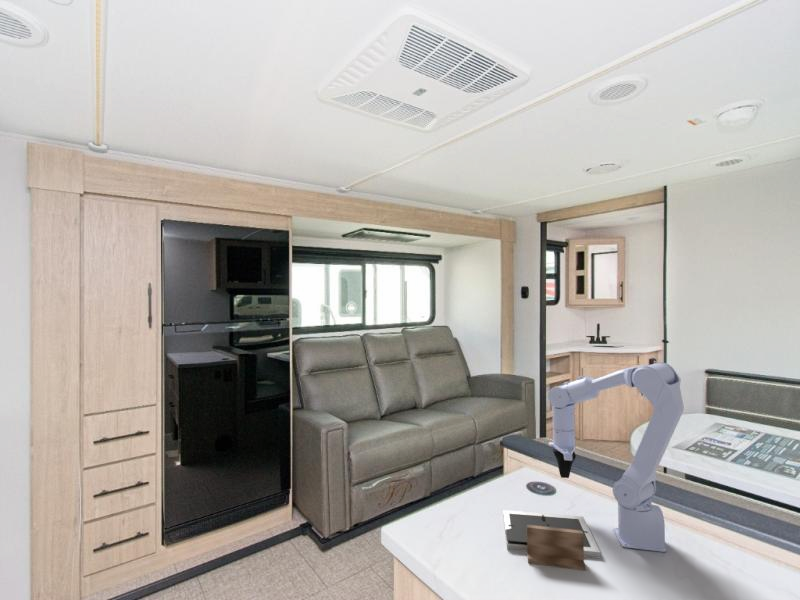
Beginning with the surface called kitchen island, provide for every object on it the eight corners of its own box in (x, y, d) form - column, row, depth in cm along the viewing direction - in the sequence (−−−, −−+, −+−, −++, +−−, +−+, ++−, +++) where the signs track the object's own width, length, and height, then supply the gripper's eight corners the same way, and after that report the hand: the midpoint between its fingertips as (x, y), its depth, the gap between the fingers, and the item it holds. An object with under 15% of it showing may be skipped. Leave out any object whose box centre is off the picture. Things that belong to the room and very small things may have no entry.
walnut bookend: (582, 561, 92) (582, 530, 92) (585, 570, 89) (585, 538, 89) (527, 554, 95) (526, 524, 95) (528, 562, 92) (527, 531, 92)
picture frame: (507, 552, 97) (600, 561, 94) (506, 540, 97) (600, 548, 94) (503, 517, 113) (583, 524, 109) (502, 507, 113) (583, 513, 109)
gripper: (545, 420, 123) (546, 465, 123) (551, 435, 109) (552, 486, 109) (570, 421, 122) (571, 467, 121) (580, 437, 107) (581, 489, 107)
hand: (564, 476), depth 115 cm, fingers closed
